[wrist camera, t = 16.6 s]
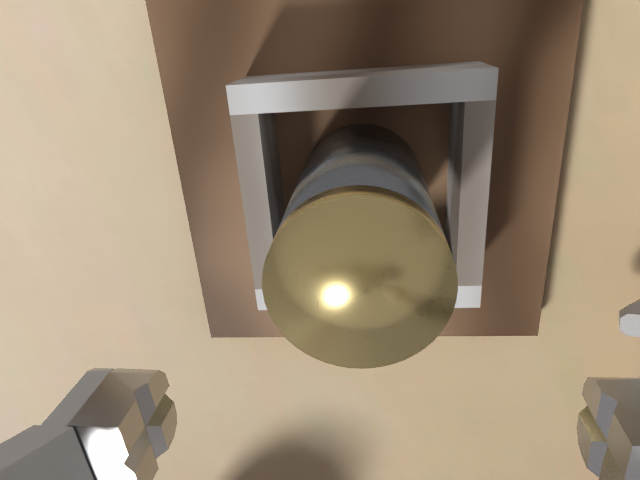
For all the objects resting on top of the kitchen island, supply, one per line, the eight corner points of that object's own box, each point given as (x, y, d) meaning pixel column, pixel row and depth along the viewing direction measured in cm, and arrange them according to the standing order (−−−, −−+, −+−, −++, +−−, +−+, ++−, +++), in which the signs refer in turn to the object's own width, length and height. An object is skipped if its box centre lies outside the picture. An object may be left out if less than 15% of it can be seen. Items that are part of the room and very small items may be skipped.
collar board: (577, -51, 17) (636, -72, 14) (529, 321, 24) (560, 377, 20) (155, -14, 19) (102, -22, 15) (217, 324, 26) (191, 376, 22)
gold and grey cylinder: (422, 120, 19) (463, 195, 11) (419, 235, 21) (452, 369, 13) (298, 126, 20) (250, 201, 12) (307, 237, 22) (272, 367, 14)
